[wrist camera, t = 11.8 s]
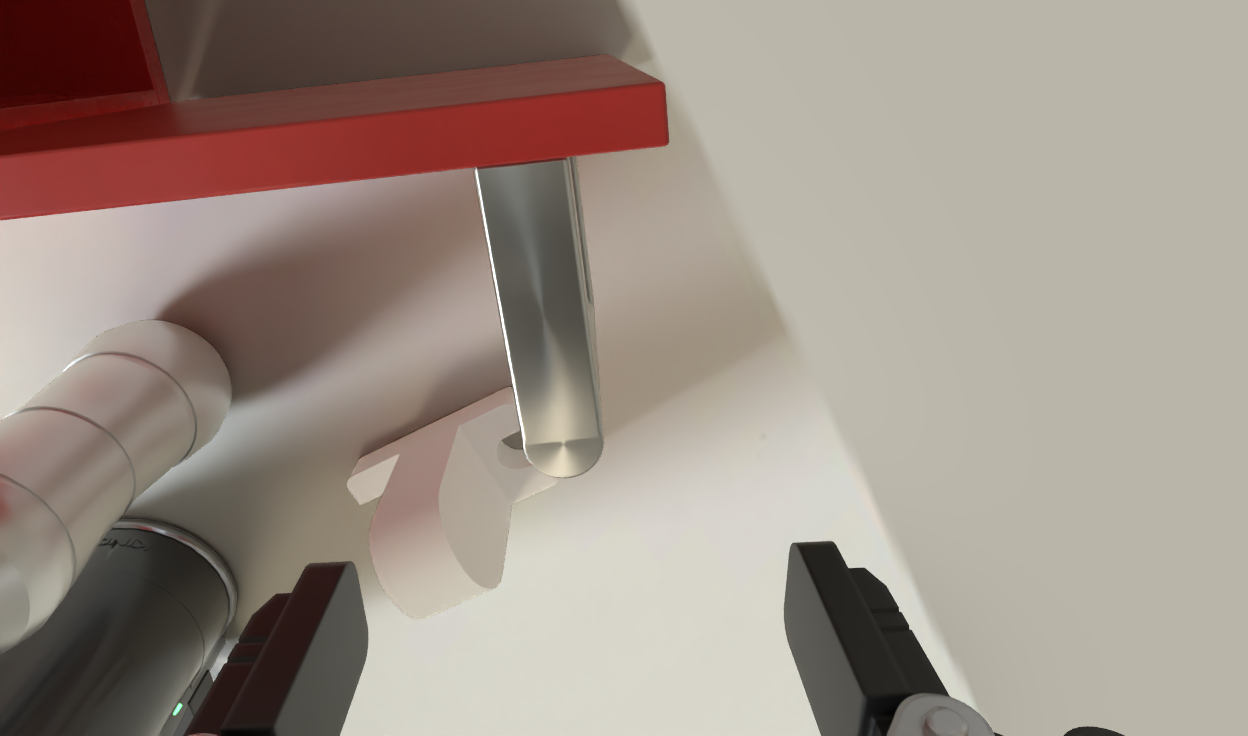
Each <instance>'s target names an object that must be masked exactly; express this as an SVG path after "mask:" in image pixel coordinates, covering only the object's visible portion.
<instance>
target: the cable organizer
mask: <svg viewBox="0 0 1248 736" xmlns="http://www.w3.org/2000/svg"><path fill="white" fill-rule="evenodd" d="M518 431H520V426H519V421H518V415H517V410H516V404H515V399H514V393H513V388H512V387H506V388H504V389H502V390H499V391H497V392H495V393H493V394H491V395H489V396H487V397H485V398H483V399H481V400H479V401H477V402H475V403H473V404H471V405H468V406H466V407H464V408H462V409H460V410H458V411H456V412H454V413H452V414H450V415H448V416H446V417H444V418H442V419H439V420H437V421H435V422H433V423H431V424H429V425H427V426H425V427H423V428H421V429H419V430H417V431H415V432H413V433H411V434H408V435H406V436H404V437H402V438H400V439H398V440H396V441H394V442H392V443H390V444H388V445H386V446H384V447H382V448H379V449H377V450H375V451H373V452H371V453H369V454H367V455H365V456H363V457H361V458H360V459H359V460H358V462H357V464H356V466H355V468H354V469H353V471H352V473H351V475H350V477H349V479H348V481H347V488H348V490H349V492H350V493H351V494H352V495H353V497H354V498H355V499H356V500H357V502H358V503H359V504H360V505H362V504H364V503H366V502H369V501H371V500H373V499H375V498H377V497H379V496H381V495H382V497H381V499H380V501H379V504H378V506H377V508H376V511H375V513H374V515H373V518H372V521H371V525H370V529H369V546H370V552H371V558H372V562H373V565H374V568H375V571H376V574H377V577H378V579H379V581H380V583H381V585H382V587H383V589H384V591H385V592H386V594H387V595H388V597H389V598H390V599H391V601H392V602H393V604H394V605H395V606H396V607H398V608H399V609H400V610H401V611H402V612H403V613H404V614H406V615H408V616H409V617H411V618H414V619H420V620H422V619H425V618H428V617H431V616H433V615H435V614H437V613H440V612H442V611H444V610H446V609H449V608H451V607H453V606H455V605H458V604H460V603H462V602H464V601H467V600H469V599H471V598H473V597H476V596H478V595H480V594H482V593H485V592H487V591H489V590H492V589H494V588H496V587H497V586H498V584H499V583H500V582H501V578H502V574H503V568H504V561H505V554H506V546H507V539H508V532H509V524H510V517H511V510H512V505H513V504H515V503H517V502H519V501H521V500H524V499H526V498H528V497H530V496H532V495H534V494H537V493H539V492H541V491H543V490H545V489H547V488H550V487H552V486H554V485H555V484H556V483H557V482H558V480H559V478H555V477H551V476H548V475H545V474H543V473H541V472H539V471H538V470H537V469H535V468H534V467H533V466H532V465H531V464H530V462H529V461H528V459H527V458H526V456H525V453H524V450H523V449H519V450H518V449H513V448H510V447H508V446H507V445H505V444H504V443H503V441H502V440H503V439H504V438H506V437H508V436H510V435H512V434H514V433H516V432H518Z"/></svg>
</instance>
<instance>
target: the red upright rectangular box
mask: <svg viewBox="0 0 1248 736" xmlns="http://www.w3.org/2000/svg"><path fill="white" fill-rule="evenodd" d="M167 103H171V102H170V98H169V94H168V90H167V86H166V82H165V79H164V75H163V71H162V67H161V63H160V60H159V56H158V52H157V48H156V44H155V41H154V37H153V33H152V29H151V25H150V22H149V18H148V14H147V10H146V6H145V3H144V0H0V130H5V129H11V128H17V127H24V126H30V125H36V124H42V123H48V122H55V121H61V120H67V119H73V118H80V117H86V116H92V115H98V114H105V113H111V112H117V111H123V110H129V109H136V108H142V107H148V106H154V105H161V104H167Z"/></svg>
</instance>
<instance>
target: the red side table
mask: <svg viewBox="0 0 1248 736" xmlns="http://www.w3.org/2000/svg"><path fill="white" fill-rule="evenodd" d="M668 143H669V132H668V118H667V104H666V90H665V84H664V83H663V82H661V81H659V80H657V79H656V78H654V77H652V76H650V75H648V74H646V73H644V72H642V71H640V70H638V69H636V68H634V67H632V66H630V65H628V64H626V63H624V62H622V61H620V60H618V59H616V58H614V57H612V56H610V55H608V54H604V55H595V56H586V57H577V58H568V59H559V60H549V61H540V62H531V63H522V64H513V65H504V66H495V67H486V68H476V69H467V70H458V71H449V72H440V73H431V74H422V75H413V76H403V77H394V78H385V79H376V80H367V81H358V82H349V83H340V84H330V85H321V86H312V87H303V88H294V89H285V90H276V91H267V92H258V93H248V94H239V95H230V96H221V97H212V98H203V99H194V100H186V101H179V102H173V103H167V104H161V105H154V106H148V107H142V108H136V109H129V110H123V111H117V112H111V113H105V114H98V115H92V116H86V117H80V118H73V119H67V120H61V121H55V122H48V123H42V124H36V125H30V126H24V127H17V128H11V129H5V130H0V220H8V219H17V218H26V217H35V216H44V215H53V214H62V213H71V212H80V211H89V210H98V209H107V208H116V207H125V206H134V205H143V204H152V203H161V202H170V201H178V200H187V199H196V198H205V197H214V196H223V195H232V194H241V193H250V192H259V191H268V190H277V189H286V188H295V187H304V186H313V185H322V184H331V183H340V182H349V181H358V180H367V179H376V178H385V177H394V176H403V175H412V174H420V173H429V172H438V171H447V170H456V169H465V168H474V170H473V172H474V178H475V183H476V189H477V194H478V200H479V205H480V211H481V217H482V222H483V228H484V233H485V239H486V244H487V250H488V255H489V261H490V266H491V272H492V277H493V283H494V288H495V294H496V299H497V305H498V310H499V316H500V321H501V327H502V333H503V338H504V344H505V349H506V355H507V360H508V366H509V371H510V377H511V382H512V388H513V393H514V399H515V404H516V410H517V415H518V421H519V426H520V432H521V438H522V443H523V450H524V453H525V456H526V458H527V459H528V461H529V462H530V464H531V465H532V466H533V467H534V468H535V469H537V470H538V471H539V472H541V473H543V474H545V475H548V476H551V477H555V478H571V477H575V476H579V475H581V474H583V473H585V472H587V471H588V470H589V469H591V468H592V467H593V466H594V465H595V464H596V462H597V461H598V460H599V458H600V456H601V454H602V450H603V444H604V442H603V427H602V413H601V399H600V385H599V370H598V356H597V342H596V328H595V313H594V299H593V290H592V281H591V273H590V265H589V257H588V249H587V241H586V233H585V225H584V216H583V208H582V200H581V192H580V184H579V176H578V168H577V159H576V156H582V155H591V154H600V153H609V152H618V151H627V150H636V149H645V148H653V147H662V146H666V145H668Z"/></svg>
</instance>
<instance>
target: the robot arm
mask: <svg viewBox="0 0 1248 736" xmlns="http://www.w3.org/2000/svg"><path fill="white" fill-rule="evenodd" d="M236 606H237V589H236V585H235V582H234V579H233V576H232V574H231V572H230V570H229V569H228V567H227V566H226V564H225V563H224V561H223V560H222V559H221V558H220V557H219V556H218V554H217V553H216V552H215V551H214V550H212V549H211V548H210V547H209V546H208V545H206V544H205V543H204V542H202V541H201V540H199V539H198V538H196V537H195V536H193V535H191V534H189V533H187V532H186V531H183V530H181V529H179V528H176V527H174V526H171V525H168V524H164V523H161V522H156V521H152V520H145V519H119V520H118V521H117V523H116V524H115V525H114V526H113V527H112V529H111V530H110V531H109V532H108V533H107V535H106V536H105V537H104V538H103V539H102V541H101V542H100V544H99V545H98V547H97V548H96V550H95V552H94V553H93V555H92V556H91V558H90V559H89V561H88V562H87V564H86V565H85V567H84V569H83V570H82V572H81V573H80V575H79V576H78V578H77V579H76V581H75V582H74V584H73V586H72V587H71V589H70V590H69V591H68V592H67V595H66V597H65V598H64V599H63V601H62V602H61V603H60V604H59V606H58V607H57V608H56V610H55V611H54V612H53V613H52V615H51V616H50V617H49V619H48V620H47V621H46V622H45V624H44V625H43V626H42V627H41V628H40V629H39V630H37V631H36V632H35V633H34V634H32V635H31V636H30V637H28V638H26V639H25V640H23V641H22V642H20V643H18V644H17V645H15V646H14V647H12V648H11V649H9V650H7V651H6V652H4V653H2V654H0V736H340V733H341V730H342V727H343V725H344V722H345V719H346V716H347V713H348V710H349V707H350V705H351V702H352V699H353V696H354V693H355V690H356V687H357V684H358V682H359V679H360V676H361V673H362V670H363V667H364V664H365V661H366V656H367V650H368V626H367V621H366V616H365V610H364V605H363V600H362V595H361V590H360V585H359V579H358V574H357V570H356V567H355V565H354V563H353V562H351V561H350V562H328V563H310V564H308V565H307V566H306V567H305V569H304V571H303V572H302V574H301V576H300V578H299V580H298V582H297V584H296V586H295V588H294V589H293V591H292V593H284V594H276V595H275V596H273V597H272V598H271V599H270V600H269V601H268V602H267V603H266V604H264V605H263V606H262V607H261V608H260V609H259V610H258V611H257V612H255V613H254V614H253V615H252V617H251V619H250V620H249V622H248V624H247V625H246V627H245V629H244V631H243V632H242V634H241V636H240V638H239V643H237V644H236V645H235V646H234V648H233V650H232V651H231V653H230V655H229V657H228V661H227V663H225V664H224V665H223V667H222V669H221V671H220V672H219V674H218V676H217V678H216V679H215V681H214V682H213V679H212V676H211V673H210V669H211V668H212V666H213V664H214V662H215V661H216V659H217V657H218V655H219V654H220V652H221V650H222V649H223V647H224V645H225V640H224V637H223V633H224V632H225V630H226V629H227V627H228V625H229V624H230V622H231V620H232V618H233V616H234V614H235V610H236ZM784 623H785V630H786V635H787V640H788V643H789V646H790V649H791V652H792V655H793V657H794V660H795V663H796V666H797V669H798V671H799V674H800V677H801V680H802V683H803V686H804V688H805V691H806V694H807V697H808V700H809V702H810V705H811V708H812V711H813V714H814V717H815V719H816V722H817V725H818V728H819V731H820V733H821V736H1003V735H1000V734H997V733H995V732H993V730H992V729H991V727H990V726H989V724H988V723H987V722H986V720H985V719H984V718H983V717H982V716H981V715H980V714H979V713H977V712H976V711H975V710H974V709H972V708H971V707H969V706H968V705H966V704H965V703H963V702H961V701H959V700H957V699H954V698H951V697H950V696H949V694H948V692H947V691H946V689H945V687H944V685H943V684H942V682H941V680H940V679H939V677H938V675H937V673H936V672H935V670H934V668H933V666H932V665H931V663H930V661H929V659H928V658H927V656H926V654H925V652H924V651H923V649H922V647H921V645H920V644H919V642H918V640H917V639H916V637H915V635H914V633H913V632H912V630H910V629H909V625H908V623H907V621H906V619H905V618H904V616H903V614H902V612H899V607H898V606H897V604H896V602H895V600H894V599H893V597H892V595H891V593H890V592H889V590H888V588H887V586H886V585H884V584H883V583H882V582H881V581H880V580H878V579H877V578H876V577H875V576H874V575H873V574H871V573H870V572H869V571H868V570H867V569H865V568H848V567H847V565H846V563H845V561H844V559H843V557H842V555H841V553H840V552H839V550H838V548H837V546H836V544H835V543H834V542H832V541H823V542H801V543H792V545H791V547H790V551H789V561H788V571H787V582H786V592H785V602H784ZM1064 736H1124V735H1122V734H1119V733H1117V732H1114V731H1111V730H1108V729H1104V728H1098V727H1088V726H1087V727H1078V728H1075V729H1072V730H1070V731H1068V732H1067V733H1066V734H1065V735H1064Z"/></svg>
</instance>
